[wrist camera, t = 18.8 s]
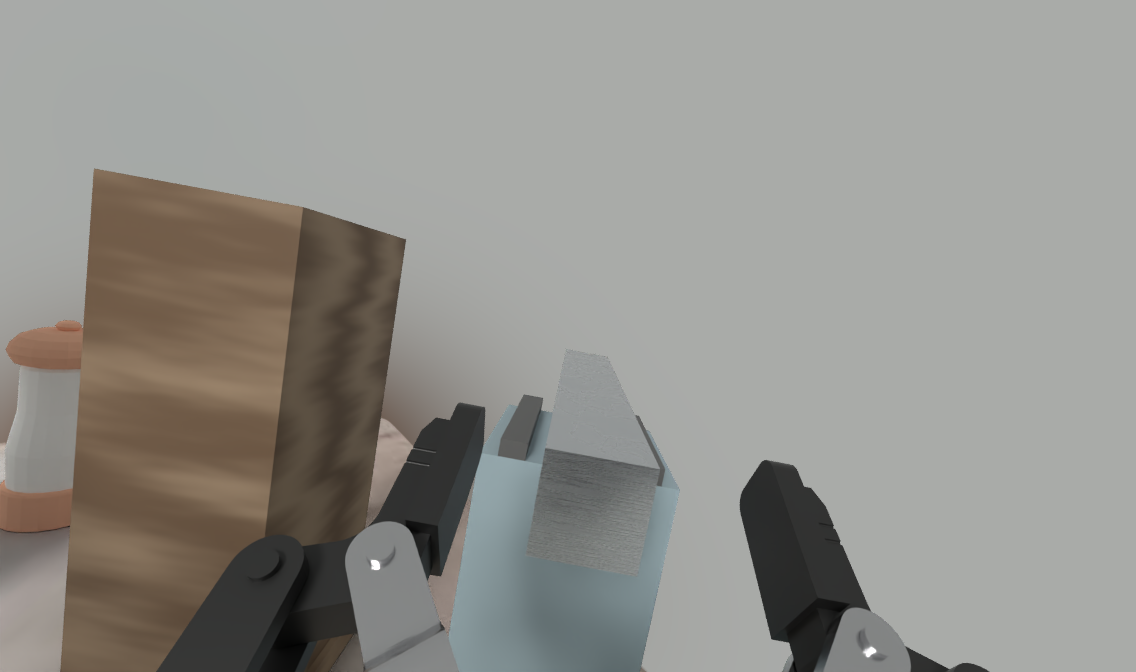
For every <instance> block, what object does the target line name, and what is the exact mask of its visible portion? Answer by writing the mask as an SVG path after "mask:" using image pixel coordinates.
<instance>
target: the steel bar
mask: <svg viewBox="0 0 1136 672" xmlns="http://www.w3.org/2000/svg"><path fill="white" fill-rule="evenodd" d="M659 473H660V468H659V466H658V463H657V461H656V459H655V457H654V455H653V453H652V451H651V449H650V446H649V444H648V442H647V440H646V438H645V436H644V434H643V431H642V429H641V427H640V425H639V423H638V421H637V419H636V417H635V415H634V412H633V410H632V408H631V406H630V404H629V402H628V399H627V397H626V395H625V393H624V391H623V389H622V387H621V385H620V383H619V380H618V378H617V376H616V374H615V372H614V370H613V367H612V365H611V363H610V361H609V359H608V357H605V356H600V355H595V354H589V353H583V352H578V351H573V350H566V352H565V357H564V362H563V367H562V372H561V376H560V381H559V386H558V390H557V395H556V400H555V405H554V409H553V414H552V419H551V423H550V428H549V433H548V438H547V442H546V447H545V452H544V458H543V463H542V469H541V474H540V479H539V485H538V490H537V496H536V501H535V506H534V512H533V517H532V523H531V528H530V534H529V539H528V544H527V550H526V555H525V556H529V557H534V558H540V559H545V560H550V561H555V562H561V563H566V564H571V565H577V566H582V567H587V568H593V569H598V570H603V571H609V572H614V573H619V574H625V575H630V576H635V577H637V575H638V571H639V566H640V561H641V557H642V552H643V547H644V543H645V538H646V533H647V529H648V524H649V519H650V515H651V510H652V505H653V501H654V496H655V491H656V487H657V482H658V477H659Z"/></svg>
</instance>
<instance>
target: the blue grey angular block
mask: <svg viewBox="0 0 1136 672" xmlns="http://www.w3.org/2000/svg"><path fill="white" fill-rule="evenodd" d="M542 401H543V398H540V397H534V396H529V395H524V396H523V398H522V399H521V401H520V403H519V406H513V405H509V406H508V407H507V409H506V411H505V412H504V414H503V415H502V417H501V419H500V420H499V422H498V424H497V425H496V427H495V428H494V430H493V432H492V433H491V435H490V436H489V438H488V440H487V442H486V443H485V445H484V446H483V450H482V454H481V458H480V462H479V465H478V468H477V471H476V477H475V482H474V489H473V494H472V500H471V506H470V512H469V518H468V524H467V530H466V536H465V542H464V548H463V554H462V560H461V566H460V572H459V578H458V584H457V590H456V595H455V601H454V607H453V613H452V619H451V625H450V631H449V637H448V639H449V642H450V645H451V648H452V651H453V654H454V657H455V660H456V663H457V666H458V670H459V672H640V669H641V664H642V659H643V654H644V650H645V646H646V641H647V637H648V632H649V627H650V623H651V619H652V614H653V609H654V605H655V600H656V596H657V591H658V587H659V582H660V578H661V573H662V568H663V564H664V560H665V555H666V550H667V546H668V542H669V537H670V532H671V528H672V523H673V518H674V514H675V510H676V505H677V501H678V496H679V491H680V489H679V487H678V486H677V484H676V482H675V480H674V478H673V476H672V474H671V472H670V470H669V468H668V466H667V464H666V463H665V461H664V459H663V457H662V455H661V453H660V451H659V449H658V447H657V445H656V443H655V442H654V439H653V437H652V435H651V434H650V432H649V431H648V430H646V429H645V427H644V426H643V423H642V421H641V419H640V417H639V416H637V415H635V417H636V419H637V421H638V423H639V425H640V427H641V429H642V431H643V434H644V436H645V438H646V440H647V442H648V444H649V446H650V449H651V451H652V453H653V455H654V457H655V459H656V461H657V463H658V466H659V468H660V473H659V477H658V482H657V487H656V491H655V496H654V501H653V505H652V510H651V515H650V519H649V524H648V529H647V533H646V538H645V543H644V547H643V552H642V557H641V561H640V566H639V571H638V575H637V577H635V576H630V575H625V574H619V573H614V572H609V571H603V570H598V569H593V568H587V567H582V566H577V565H571V564H566V563H561V562H555V561H550V560H545V559H540V558H534V557H529V556H525V555H526V550H527V544H528V539H529V534H530V528H531V523H532V517H533V512H534V506H535V501H536V496H537V490H538V485H539V479H540V474H541V469H542V463H543V458H544V452H545V447H546V442H547V438H548V433H549V428H550V423H551V419H552V414H553V413H551V412H546V411H541V407H542Z"/></svg>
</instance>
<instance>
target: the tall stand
mask: <svg viewBox="0 0 1136 672" xmlns="http://www.w3.org/2000/svg"><path fill="white" fill-rule="evenodd" d="M405 242H406V239H402V238H399V237H396V236H393V235H390V234H387V233H384V232H380V231H377V230H374V229H370V228H368V227H364V226H361V225H358V224H355V223H352V222H349V221H345V220H342V219H339V218H335V217H332V216H330V215H326V214H323V213H320V212H317V211H314V210H310V209H307V208H304V207H299V206H294V205H289V204H283V203H278V202H272V201H267V200H261V199H256V198H251V197H244V196H240V195H234V194H229V193H224V192H218V191H213V190H207V189H202V188H196V187H191V186H186V185H180V184H174V183H169V182H164V181H158V180H153V179H148V178H142V177H137V176H131V175H126V174H121V173H115V172H109V171H104V170H99V169H94V176H93V192H92V206H91V221H90V236H89V251H88V266H87V281H86V296H85V311H84V327H83V341H82V356H81V371H80V386H79V401H78V416H77V431H76V446H75V461H74V476H73V491H72V506H71V521H70V536H69V551H68V566H67V581H66V596H65V611H64V626H63V641H62V656H61V671H60V672H156V671H157V670H158V668H159V667H160V665H161V664H162V662H163V661H164V659H165V658H166V656H167V655H168V653H169V652H170V650H171V649H172V648H173V646H174V645H175V643H176V642H177V640H178V639H179V637H180V636H181V634H182V633H183V631H184V630H185V628H186V627H187V625H188V624H189V622H190V621H191V620H192V618H193V617H194V615H195V614H196V612H197V611H198V609H199V608H200V606H201V605H202V603H203V602H204V600H205V599H206V597H207V596H208V595H209V593H210V592H211V590H212V589H213V587H214V586H215V584H216V583H217V581H218V580H219V578H220V577H221V575H222V574H223V572H224V571H225V569H226V568H227V567H228V565H229V564H230V562H231V561H232V560H233V558H234V557H235V556H236V555H237V554H238V553H239V552H240V551H241V550H243V549H244V548H245V547H247V546H248V545H250V544H251V543H253V542H255V541H257V540H259V539H261V538H264V537H267V536H271V535H288V536H291V537H293V538H295V539H296V540H298V541H299V542H300V544H301V545H302V546H307V545H314V544H321V543H328V542H335V541H340V540H344V539H347V538H350V537H352V536H355V535H357V534H358V533H360V532H362V531H363V530H364V529H365V524H366V517H367V510H368V503H369V496H370V489H371V482H372V475H373V468H374V461H375V454H376V447H377V440H378V433H379V426H380V419H381V412H382V404H383V398H384V390H385V384H386V376H387V370H388V362H389V355H390V348H391V341H392V334H393V327H394V320H395V313H396V306H397V299H398V292H399V285H400V278H401V271H402V264H403V257H404V250H405ZM352 636H353V634H349V635H344V636H339V637H334V638H329V639H324V640H319V641H317V644H316V646H315V648H314V650H313V653H312V655H311V657H310V659H309V662H308V664H307V666H306V668H305V670H304V672H329V671H330V669H331V667H332V666H333V664H334V663H335V661H336V660H337V658H338V657H339V655H340V654H341V652H342V651H343V649H344V648H345V646H346V645H347V643H348V642H349V640H350V639H351V637H352Z"/></svg>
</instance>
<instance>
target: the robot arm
mask: <svg viewBox="0 0 1136 672" xmlns="http://www.w3.org/2000/svg"><path fill="white" fill-rule="evenodd" d="M484 423H485V407H480V406H475V405H470V404H464V403H458V404H457V406H456V408H455V410H454V412H453V415H452V417H451V419H450V420H446V419H440V418H435V419H434V420H433V421H432V422H431V423H429V425H427V426H426V427H425V428H424V429H423V430H422V431H421V432H420V435H419V436H418V438H417V441H416V442H415V444H414V446H413V450H411V452H410V454H409V456H408V458H407V461H406V463H405V464H404V466H403V468H402V470H401V472H400V474H399V476H398V477H397V479H396V481H395V483H394V485H393V487H392V489H391V491H390V493H389V495H388V497H387V499H386V501H385V503H384V505H383V507H382V509H381V511H380V513H379V514H378V516H377V517H376V519H375V520H374V521H373V522H372V523H371V524H370V525H369V526H368V527H367V528H366V529H364V530H363V531H362V532H360V533H358V534H357V535H355V536H352V537H350V538H347V539H344V540H340V541H335V542H328V543H321V544H314V545H307V546H302V545H301V544H300V542H299V541H298V540H296V539H295V538H293V537H291V536H288V535H271V536H267V537H264V538H261V539H259V540H257V541H255V542H253V543H251V544H250V545H248V546H247V547H245V548H244V549H243V550H241V551H240V552H239V553H238V554H237V555H236V556H235V557H234V558H233V560H232V561H231V562H230V564H229V565H228V567H227V568H226V569H225V571H224V572H223V574H222V575H221V577H220V578H219V580H218V581H217V583H216V584H215V586H214V587H213V589H212V590H211V592H210V593H209V595H208V596H207V597H206V599H205V600H204V602H203V603H202V605H201V606H200V608H199V609H198V611H197V612H196V614H195V615H194V617H193V618H192V620H191V621H190V622H189V624H188V625H187V627H186V628H185V630H184V631H183V633H182V634H181V636H180V637H179V639H178V640H177V642H176V643H175V645H174V646H173V648H172V649H171V650H170V652H169V653H168V655H167V656H166V658H165V659H164V661H163V662H162V664H161V665H160V667H159V668H158V670H157V671H156V672H304V670H305V668H306V666H307V664H308V662H309V659H310V657H311V655H312V653H313V650H314V648H315V646H316V644H317V641H319V640H324V639H329V638H334V637H339V636H344V635H349V634H354V633H358V635H359V641H360V646H361V651H362V657H363V663H364V672H459V670H458V666H457V663H456V660H455V657H454V654H453V651H452V648H451V645H450V642H449V639H448V636H447V633H446V631H445V629H444V627H443V625H442V624H441V622H440V620H439V617H438V614H437V611H436V608H435V604H434V601H433V598H432V595H431V592H430V589H429V585H428V582H427V581H428V578H429V576H430V575H435V576H441V575H442V572H443V569H444V566H445V563H446V560H447V557H448V554H449V551H450V548H451V545H452V542H453V539H454V536H455V533H456V530H457V527H458V524H459V521H460V518H461V515H462V512H463V509H464V506H465V504H466V501H467V498H468V495H469V491H470V489H471V486H472V483H473V480H474V477H475V474H476V471H477V468H478V465H479V462H480V458H481V454H482V450H483V442H484V425H485V424H484ZM740 512H741V517H742V521H743V525H744V529H745V533H746V537H747V541H748V545H749V549H750V553H751V558H752V561H753V566H754V569H755V574H756V578H757V581H758V586H759V590H760V594H761V598H762V602H763V606H764V610H765V614H766V619H767V623H768V627H769V631H770V635H771V639H773V640H778V641H783V642H789V643H790V647H791V651H792V654H791V655H790V656H789V658H788V659H787V661H786V664H785V666H784V669H783V671H782V672H989V671H987V670H986V669H984V668H982V667H980V666H977V665H974V664H970V663H962V664H959V665H957V666H956V667H953V668H951V669H948V668H946V667H944V666H942V665H940V664H938V663H936V662H934V661H933V660H931V659H928V658H927V657H925V656H923V655H921V654H919V653H917V652H915V651H913V650H911V649H909V648H907V647H906V646H905V645H904V643H903V642H902V640H901V639H900V637H899V636H898V634H897V633H896V632H895V631H894V630H893V628H892V627H891V626H890V625H889V624H888V623H887V622H885V621H884V620H883V619H882V618H881V617H879V616H878V615H876V614H874V613H873V612H871V610H870V608H869V606H868V604H867V602H866V600H865V597H864V595H863V593H862V590H861V588H860V586H859V583H858V581H857V579H856V576H855V574H854V572H853V569H852V567H851V565H850V562H849V560H848V558H847V555H846V553H845V551H844V548H843V546H842V545H840V539H839V537H838V534H837V532H836V530H835V529H833V526H834V525H833V523H832V520H831V518H830V516H829V514H828V511H827V509H826V506H825V505H824V504H823V503H822V501H821V500H820V499H819V498H818V496H817V495H816V494H815V493H814V491H813V490H812V489H811V488H808V487H804V486H803V483H802V481H801V478H800V476H799V473H798V471H797V469H796V468H795V467H794V466H793V465H789V464H784V463H779V462H773V461H768V460H764V461H762V462H761V464H760V465H759V467H758V468H757V470H756V471H755V473H754V474H753V476H752V477H751V479H750V480H749V482H748V483H747V485H746V486H745V488H744V489H743V491H742V494H741V498H740Z"/></svg>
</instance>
